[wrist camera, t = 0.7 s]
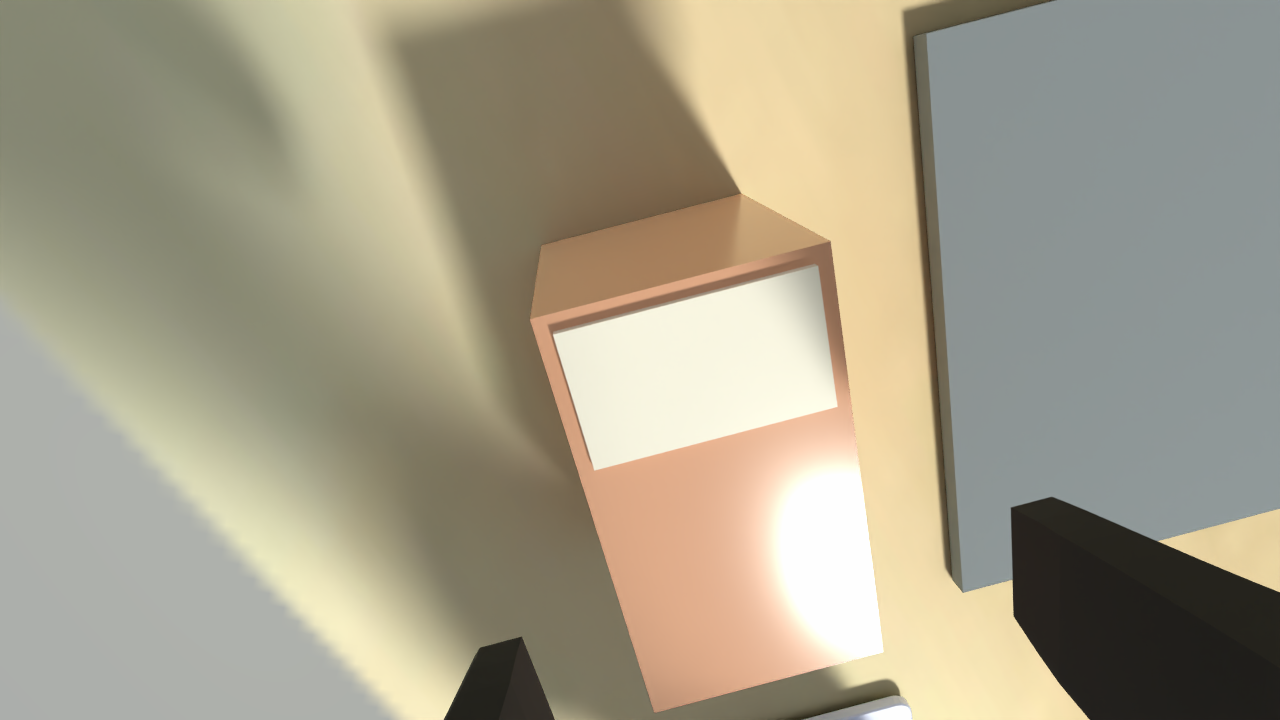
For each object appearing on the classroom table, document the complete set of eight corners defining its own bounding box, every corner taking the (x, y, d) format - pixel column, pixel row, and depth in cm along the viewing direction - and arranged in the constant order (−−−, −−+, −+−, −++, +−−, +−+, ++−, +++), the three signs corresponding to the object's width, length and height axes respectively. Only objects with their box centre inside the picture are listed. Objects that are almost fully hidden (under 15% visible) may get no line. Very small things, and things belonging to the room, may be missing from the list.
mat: (1374, 467, 22) (1396, 477, 21) (952, 579, 21) (962, 592, 21) (1498, -114, 16) (1533, -123, 15) (913, 36, 15) (926, 34, 15)
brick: (793, 496, 20) (886, 657, 14) (628, 539, 20) (655, 719, 14) (740, 193, 16) (834, 243, 11) (541, 243, 16) (529, 322, 11)
